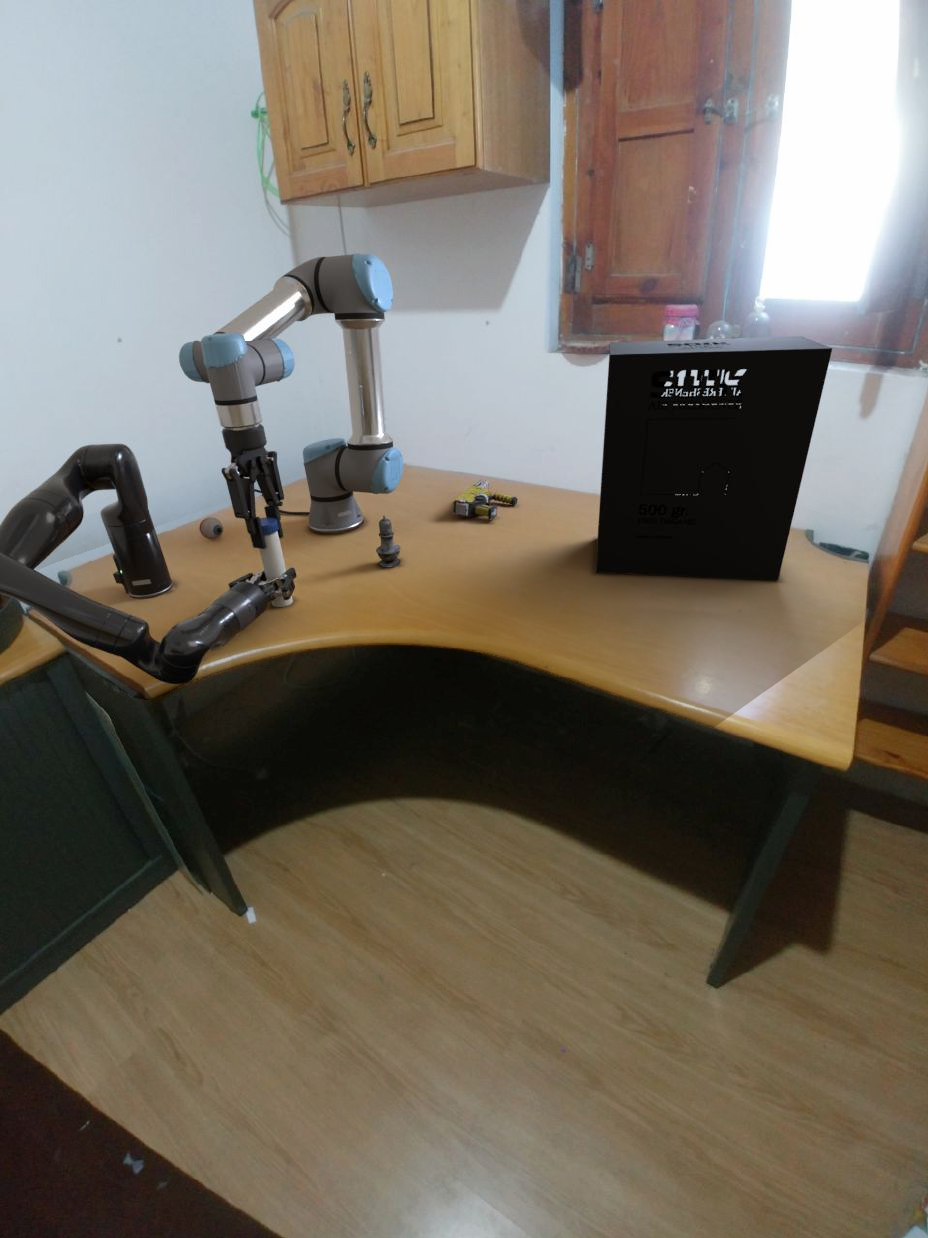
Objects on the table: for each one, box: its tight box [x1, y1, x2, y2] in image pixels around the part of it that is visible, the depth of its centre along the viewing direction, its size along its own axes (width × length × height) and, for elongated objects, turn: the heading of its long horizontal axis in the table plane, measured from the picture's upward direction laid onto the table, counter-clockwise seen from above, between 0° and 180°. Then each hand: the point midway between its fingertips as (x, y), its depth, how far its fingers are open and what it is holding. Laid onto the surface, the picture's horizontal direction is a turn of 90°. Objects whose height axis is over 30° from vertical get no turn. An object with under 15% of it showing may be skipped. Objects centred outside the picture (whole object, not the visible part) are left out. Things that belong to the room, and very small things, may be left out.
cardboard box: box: [595, 335, 833, 581], centre depth 128 cm, size 38×20×45 cm, turn 78°
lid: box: [260, 516, 279, 535], centre depth 122 cm, size 5×5×2 cm
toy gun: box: [452, 479, 518, 521], centre depth 175 cm, size 5×24×15 cm
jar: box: [258, 531, 294, 608], centre depth 126 cm, size 4×4×18 cm
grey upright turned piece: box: [375, 515, 402, 568], centre depth 142 cm, size 6×6×12 cm
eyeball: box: [198, 516, 224, 541], centre depth 163 cm, size 6×6×6 cm
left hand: (283, 570), depth 129 cm, fingers closed on jar, 4 cm apart
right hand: (268, 541), depth 123 cm, fingers closed on lid, 5 cm apart
